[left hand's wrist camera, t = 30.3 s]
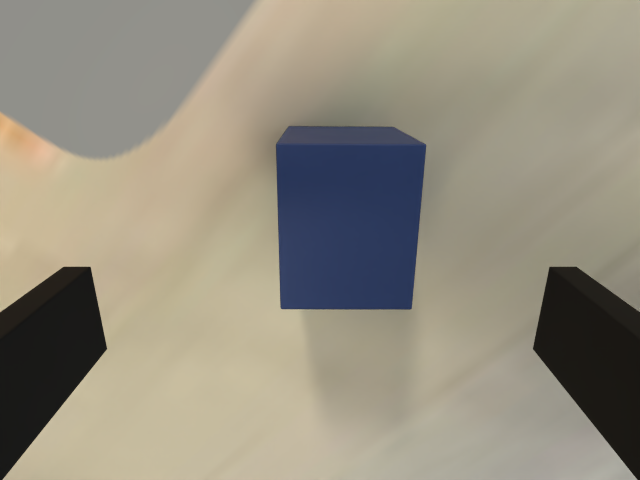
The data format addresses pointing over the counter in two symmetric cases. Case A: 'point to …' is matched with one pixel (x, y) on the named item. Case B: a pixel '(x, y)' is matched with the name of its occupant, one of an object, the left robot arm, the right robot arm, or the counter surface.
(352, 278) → the block
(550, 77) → the counter surface
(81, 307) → the left robot arm
